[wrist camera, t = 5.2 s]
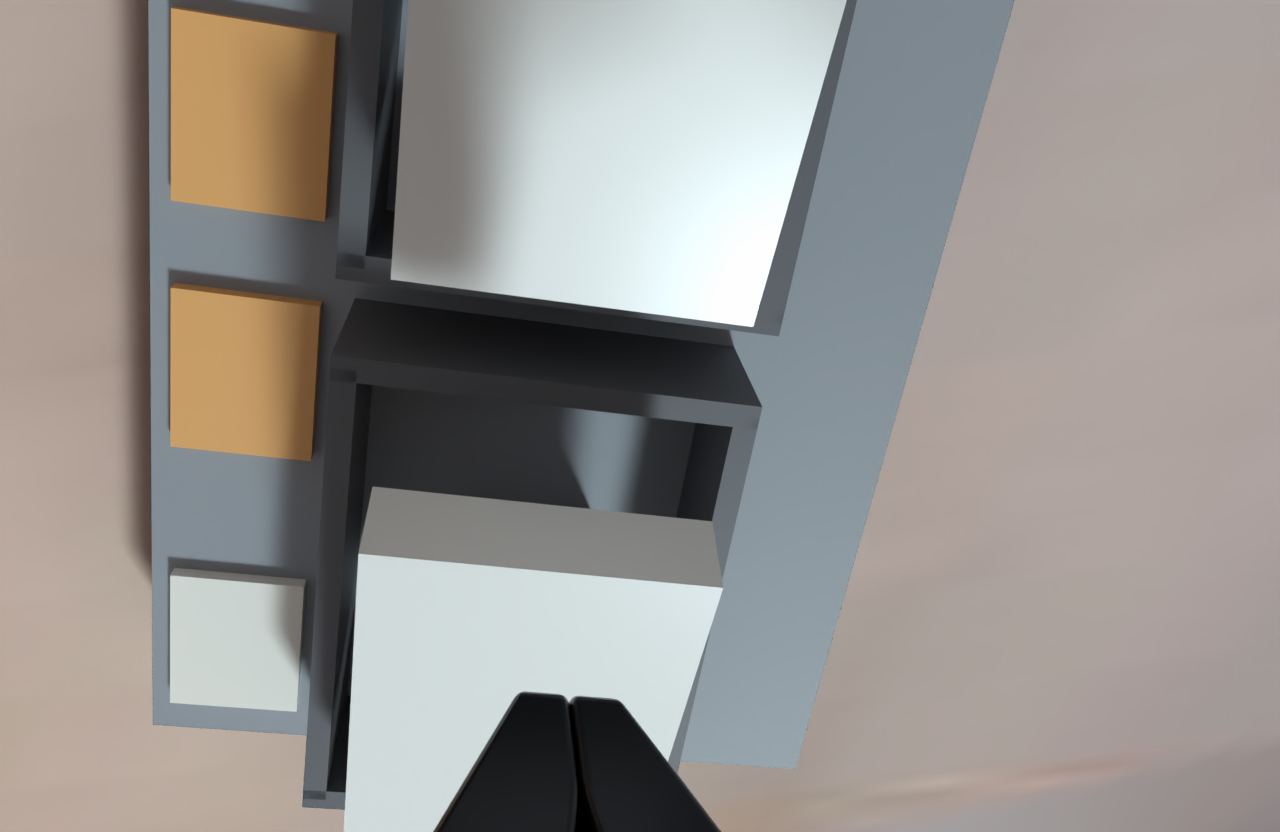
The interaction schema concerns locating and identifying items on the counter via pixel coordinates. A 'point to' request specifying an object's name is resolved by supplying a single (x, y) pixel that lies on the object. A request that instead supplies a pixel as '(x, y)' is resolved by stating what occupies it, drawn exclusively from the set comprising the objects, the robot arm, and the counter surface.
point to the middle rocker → (606, 147)
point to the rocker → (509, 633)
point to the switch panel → (509, 366)
